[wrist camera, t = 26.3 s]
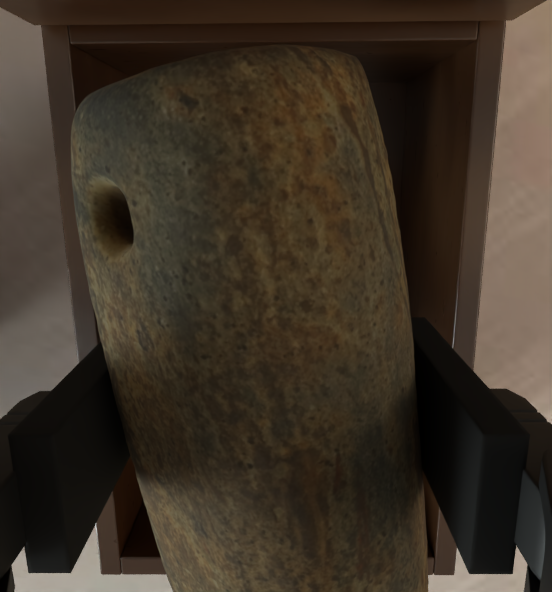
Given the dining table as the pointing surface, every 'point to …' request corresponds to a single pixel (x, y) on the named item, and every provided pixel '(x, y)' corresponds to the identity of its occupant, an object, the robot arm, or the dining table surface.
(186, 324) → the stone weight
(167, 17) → the lid
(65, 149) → the chest
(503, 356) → the dining table surface
